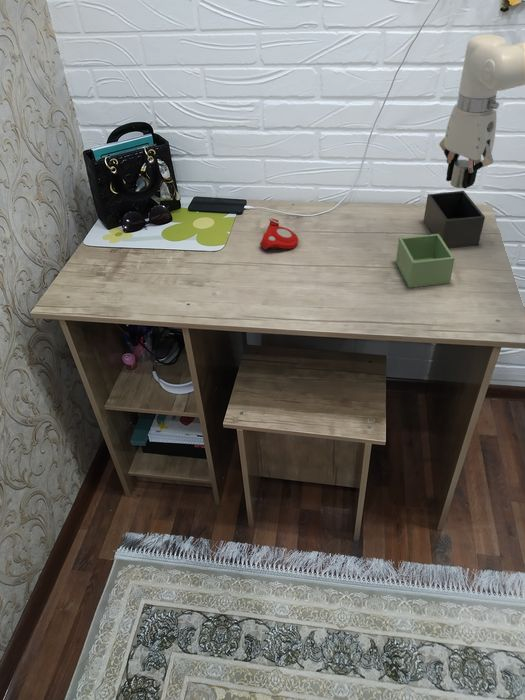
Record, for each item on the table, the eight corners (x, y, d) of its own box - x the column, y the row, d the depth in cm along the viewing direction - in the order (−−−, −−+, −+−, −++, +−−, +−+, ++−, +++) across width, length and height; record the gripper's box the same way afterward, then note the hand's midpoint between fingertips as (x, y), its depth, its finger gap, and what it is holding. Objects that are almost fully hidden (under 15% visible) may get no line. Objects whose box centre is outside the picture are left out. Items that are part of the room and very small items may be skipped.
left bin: (449, 283, 126) (454, 258, 122) (408, 287, 126) (412, 262, 121) (434, 258, 134) (438, 233, 129) (395, 262, 133) (398, 237, 129)
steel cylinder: (470, 187, 131) (475, 166, 128) (453, 188, 131) (457, 168, 128) (464, 179, 134) (468, 158, 131) (447, 181, 134) (451, 160, 131)
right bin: (478, 245, 137) (485, 216, 132) (441, 249, 136) (446, 221, 131) (458, 217, 146) (463, 190, 141) (423, 221, 146) (427, 194, 141)
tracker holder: (307, 238, 141) (278, 246, 134) (301, 253, 144) (273, 261, 137) (276, 211, 146) (247, 217, 140) (271, 225, 149) (242, 232, 142)
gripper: (521, 107, 116) (500, 190, 129) (455, 87, 127) (442, 166, 139) (498, 117, 113) (478, 201, 126) (432, 96, 124) (420, 175, 136)
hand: (459, 182), depth 132 cm, fingers closed on steel cylinder, 4 cm apart
